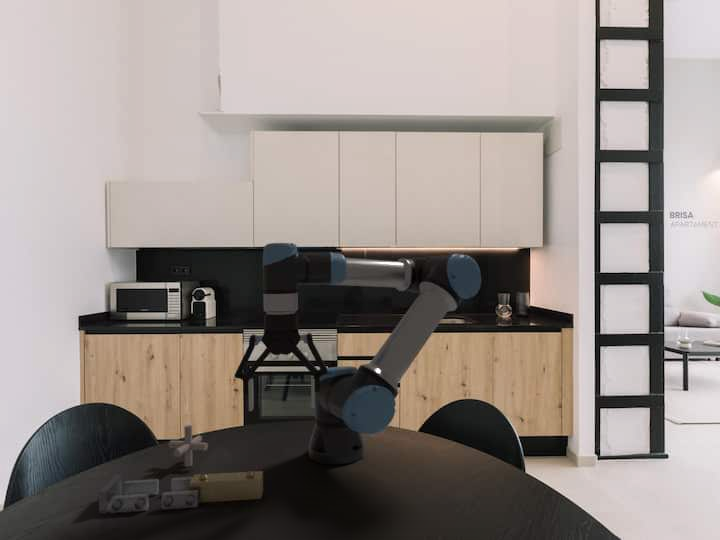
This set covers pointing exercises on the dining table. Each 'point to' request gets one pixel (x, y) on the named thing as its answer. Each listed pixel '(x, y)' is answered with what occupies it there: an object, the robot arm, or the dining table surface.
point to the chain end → (180, 495)
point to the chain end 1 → (127, 495)
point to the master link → (228, 486)
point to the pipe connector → (188, 445)
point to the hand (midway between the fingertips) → (282, 408)
